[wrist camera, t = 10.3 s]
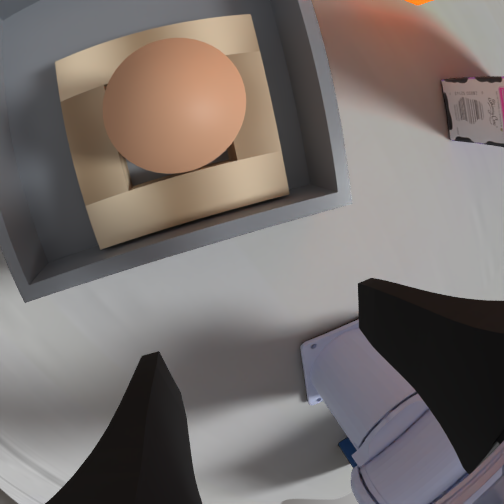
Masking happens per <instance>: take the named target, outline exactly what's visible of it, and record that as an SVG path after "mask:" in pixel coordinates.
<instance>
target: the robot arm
mask: <svg viewBox="0 0 504 504" xmlns="http://www.w3.org/2000/svg"><path fill="white" fill-rule="evenodd" d="M358 300H359V319H358V320H356V321H353V322H351V323H349V324H347V325H344V326H342V327H340V328H337V329H335V330H333V331H330V332H328V333H326V334H323V335H321V336H318V337H316V338H313V339H311V340H308V341H306V342H304V343H303V344H302V345H301V347H300V350H301V357H302V363H303V370H304V378H305V385H306V392H307V400H308V403H309V404H310V405H315V404H317V403H319V402H322V401H324V402H325V404H326V405H327V407H328V408H329V410H330V411H331V413H332V414H333V416H334V417H335V419H336V420H337V422H338V423H339V425H340V426H341V428H342V429H343V431H344V432H345V434H346V435H347V437H348V438H349V439H350V441H351V442H352V444H353V445H354V447H355V448H356V450H357V451H356V452H355V453H354V454H352V457H353V459H354V460H355V462H356V463H357V466H356V467H354V468H353V470H352V472H351V488H352V491H353V493H354V496H355V497H356V499H357V501H358V503H359V504H504V301H486V300H474V299H465V298H458V297H452V296H447V295H442V294H437V293H432V292H428V291H424V290H420V289H416V288H412V287H408V286H404V285H400V284H397V283H393V282H389V281H384V280H380V279H374V278H370V279H368V280H365V281H363V282H360V283H358ZM313 344H314V345H313ZM312 345H313V346H312ZM45 504H202V501H201V498H200V495H199V491H198V488H197V484H196V480H195V476H194V471H193V464H192V457H191V450H190V442H189V434H188V426H187V418H186V414H185V409H184V405H183V401H182V397H181V392H180V391H179V389H178V387H177V385H176V383H175V381H174V380H173V378H172V376H171V374H170V372H169V370H168V368H167V366H166V364H165V362H164V360H163V358H162V356H161V354H160V352H159V351H158V352H155V353H151V354H147V355H144V356H142V357H141V359H140V361H139V363H138V366H137V368H136V370H135V372H134V374H133V377H132V379H131V381H130V383H129V386H128V388H127V390H126V392H125V394H124V396H123V398H122V401H121V403H120V405H119V407H118V409H117V411H116V412H115V414H114V416H113V418H112V420H111V422H110V424H109V426H108V427H107V429H106V431H105V432H104V434H103V436H102V437H101V439H100V440H99V442H98V443H97V445H96V446H95V448H94V449H93V451H92V452H91V454H90V455H89V456H88V458H87V459H86V460H85V461H84V463H83V464H82V465H81V467H80V468H79V469H78V470H77V472H76V473H75V474H74V475H73V477H72V478H71V479H70V480H69V481H68V482H67V483H66V484H65V485H64V486H63V487H62V488H61V489H60V490H59V491H58V492H57V493H56V494H55V495H54V496H53V497H52V498H51V499H50V500H49V501H48V502H47V503H45Z"/></svg>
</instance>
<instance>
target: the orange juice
mask: <svg viewBox="0 0 504 504" xmlns="http://www.w3.org/2000/svg"><path fill="white" fill-rule="evenodd" d="M405 1H408V2H410V3H413V4H415V5H421V4H424V3H426V2H430V1H433V0H405Z"/></svg>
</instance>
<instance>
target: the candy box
mask: <svg viewBox="0 0 504 504" xmlns="http://www.w3.org/2000/svg"><path fill="white" fill-rule="evenodd" d="M441 82H442V86H443V93H444V98H445V103H446V109H447V116H448V125H449V132H450V139H451V140H452V141H462V142H472V143H479V144H487V145H494V146H501V147H504V76H503V77H468V78H453V79H443V80H441Z"/></svg>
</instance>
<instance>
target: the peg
mask: <svg viewBox="0 0 504 504" xmlns="http://www.w3.org/2000/svg"><path fill="white" fill-rule="evenodd" d="M102 110H103V121H104V126H105V129H106V132H107V135H108V137H109V139H110V141H111V142H112V144H113V145H114V147H115V148H116V149H117V151H118V152H119V153H120V154H121V155H122V156H123V157H125V158H126V159H127V160H128V161H130V162H131V163H133V164H135V165H136V166H138V167H141V168H143V169H145V170H148V171H152V172H157V173H165V174H175V173H183V172H188V171H192V170H195V169H197V168H200V167H203V166H204V165H206V164H208V163H210V162H212V161H213V160H215V159H216V158H217V157H219V156H220V155H221V154H222V153H223V152H224V151H226V149H227V148H228V147H229V146H230V145H231V144H232V142H233V141H234V139H235V138H236V136H237V134H238V133H239V131H240V129H241V126H242V123H243V120H244V116H245V112H246V92H245V87H244V83H243V80H242V78H241V75H240V73H239V72H238V70H237V68H236V67H235V65H234V64H233V62H232V61H231V60H230V59H229V58H228V57H227V56H226V55H225V54H223V53H222V52H221V51H220V50H218V49H217V48H215V47H213V46H212V45H209V44H207V43H205V42H202V41H199V40H195V39H189V38H167V39H163V40H158V41H155V42H152V43H149V44H147V45H145V46H143V47H141V48H139V49H138V50H136V51H135V52H133V53H132V54H131V55H129V56H128V57H127V58H126V59H125V60H124V61H123V62H122V63H121V64H120V65H119V66H118V68H117V69H116V70H115V72H114V73H113V75H112V77H111V78H110V80H109V82H108V85H107V88H106V90H105V94H104V98H103V108H102Z"/></svg>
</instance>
